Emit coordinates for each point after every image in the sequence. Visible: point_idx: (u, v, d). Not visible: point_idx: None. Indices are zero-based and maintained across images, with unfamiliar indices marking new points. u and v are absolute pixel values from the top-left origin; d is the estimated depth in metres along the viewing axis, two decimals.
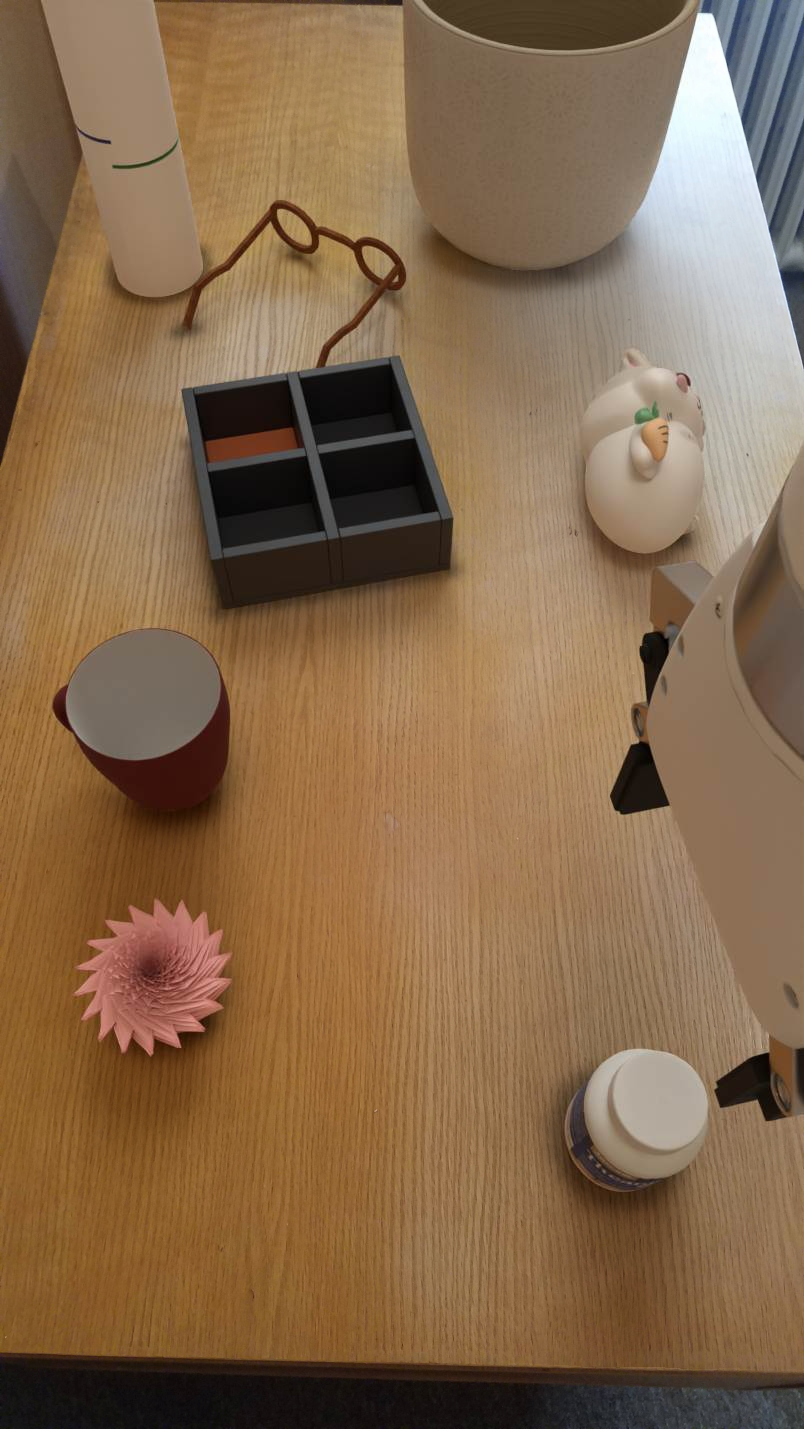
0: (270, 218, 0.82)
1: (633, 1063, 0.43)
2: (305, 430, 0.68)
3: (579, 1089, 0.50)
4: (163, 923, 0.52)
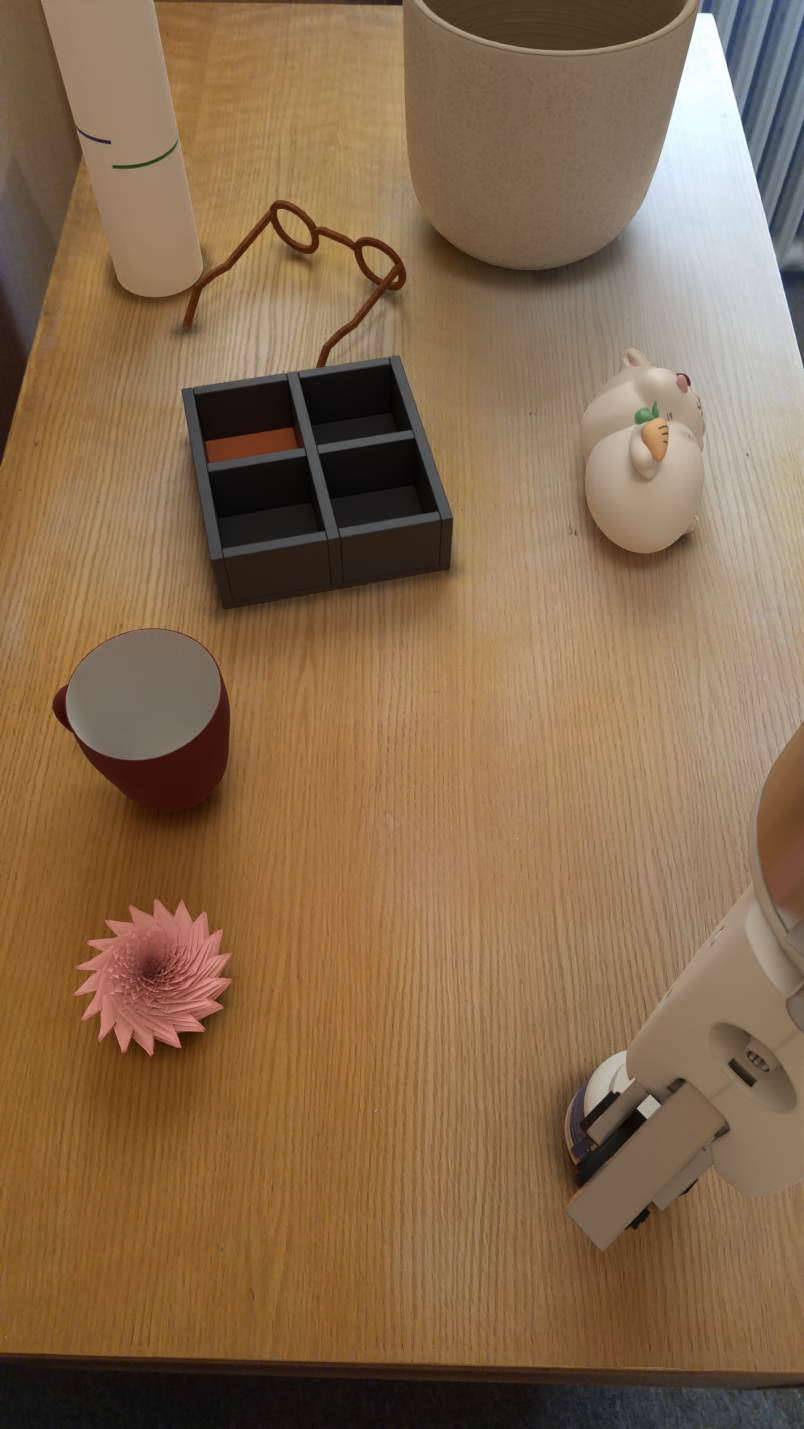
0: (270, 218, 0.82)
1: None
2: (305, 430, 0.68)
3: (579, 1089, 0.50)
4: (163, 923, 0.52)
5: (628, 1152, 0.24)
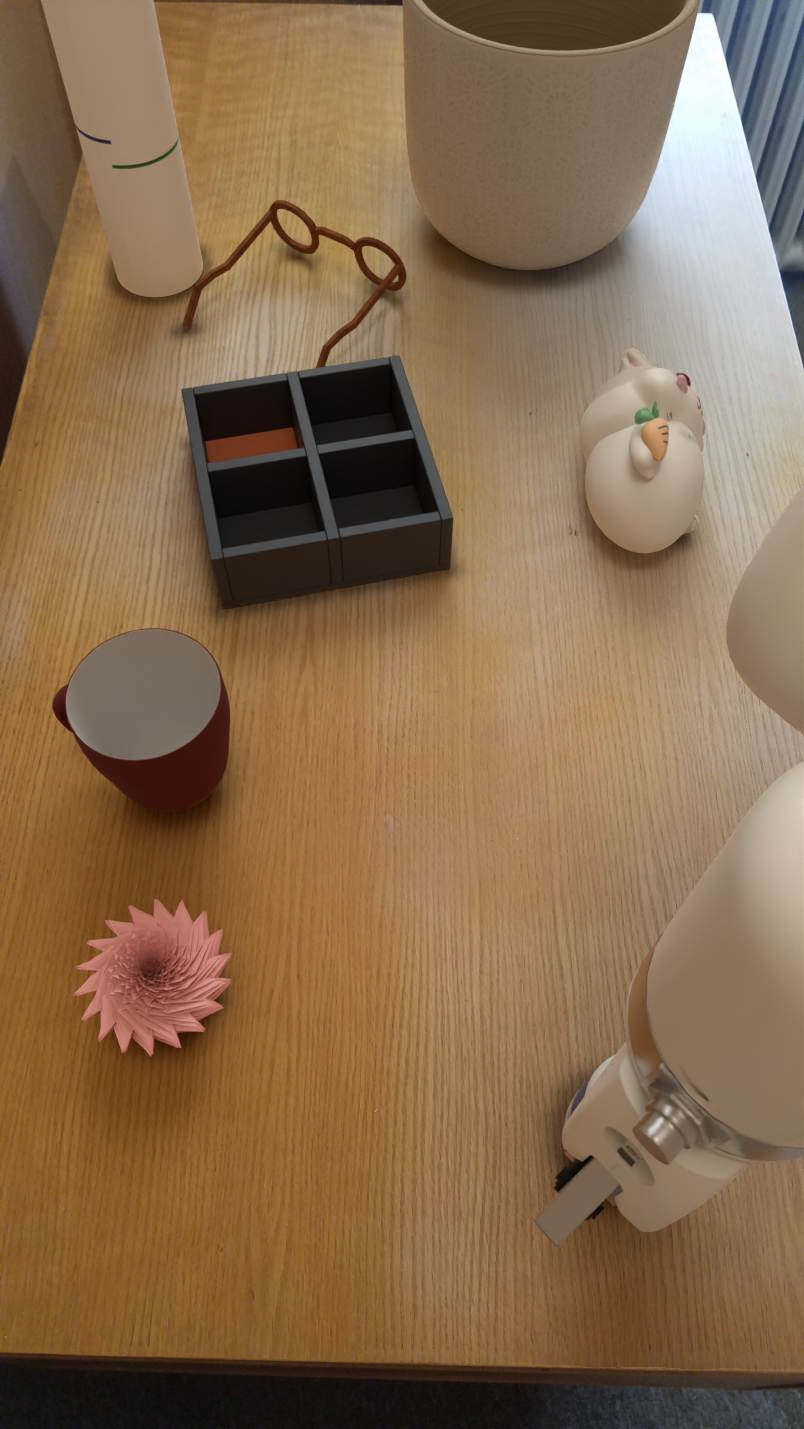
0: (270, 218, 0.82)
1: None
2: (305, 430, 0.68)
3: (579, 1089, 0.50)
4: (163, 923, 0.52)
5: (564, 1194, 0.37)
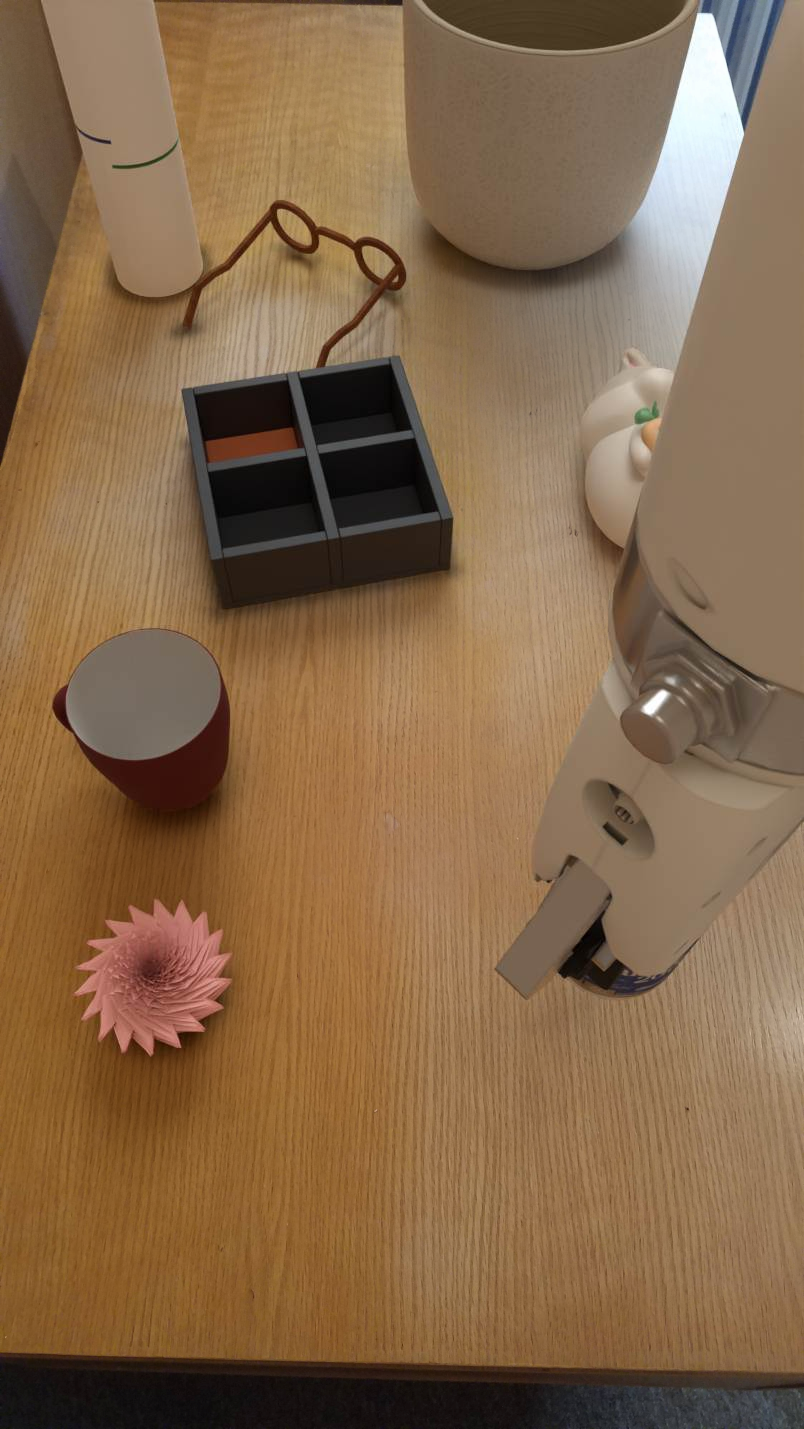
0: (270, 218, 0.82)
1: None
2: (305, 430, 0.68)
3: None
4: (163, 923, 0.52)
5: (534, 923, 0.27)
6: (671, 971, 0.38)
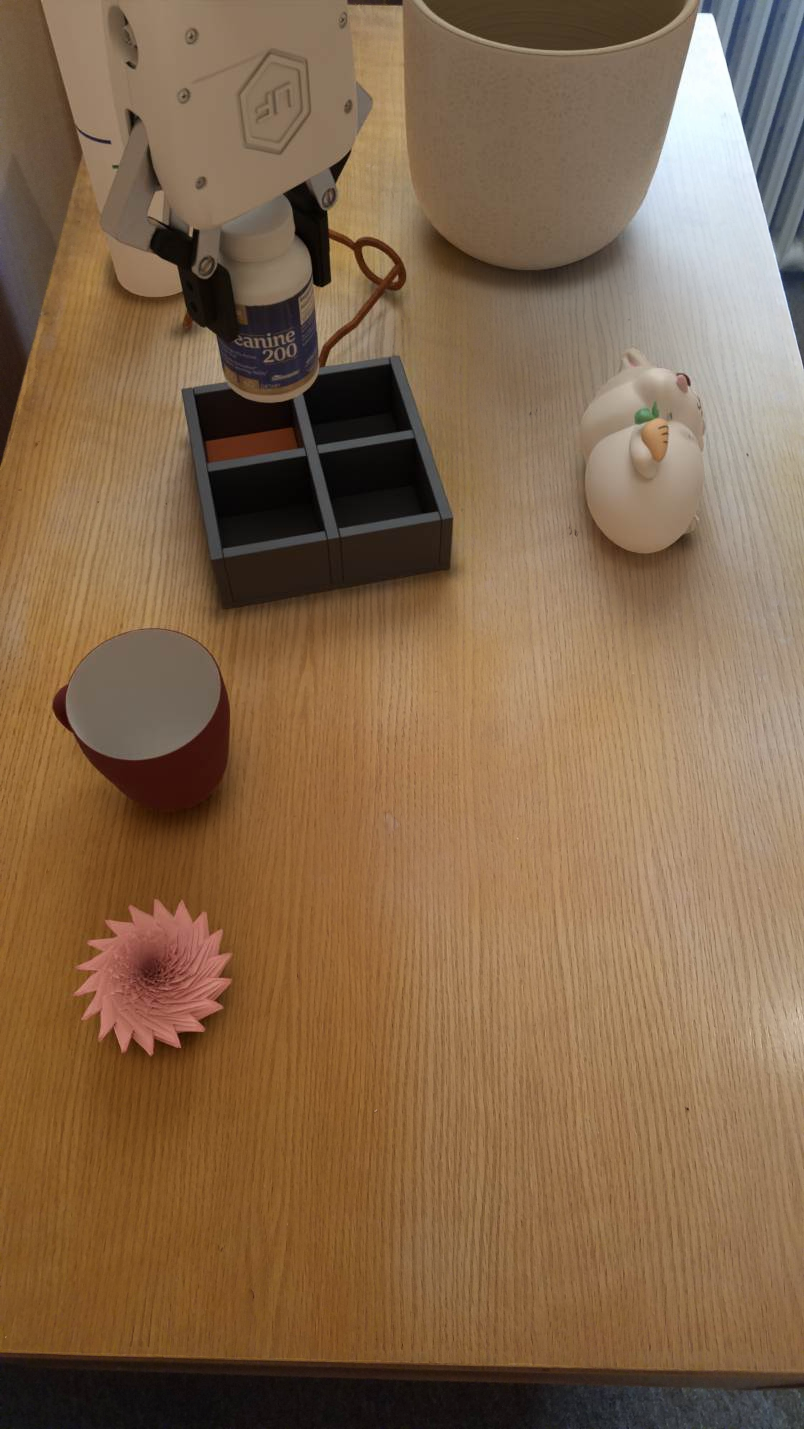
0: None
1: None
2: (305, 430, 0.68)
3: None
4: (163, 923, 0.52)
5: (116, 178, 0.43)
6: (296, 364, 0.54)
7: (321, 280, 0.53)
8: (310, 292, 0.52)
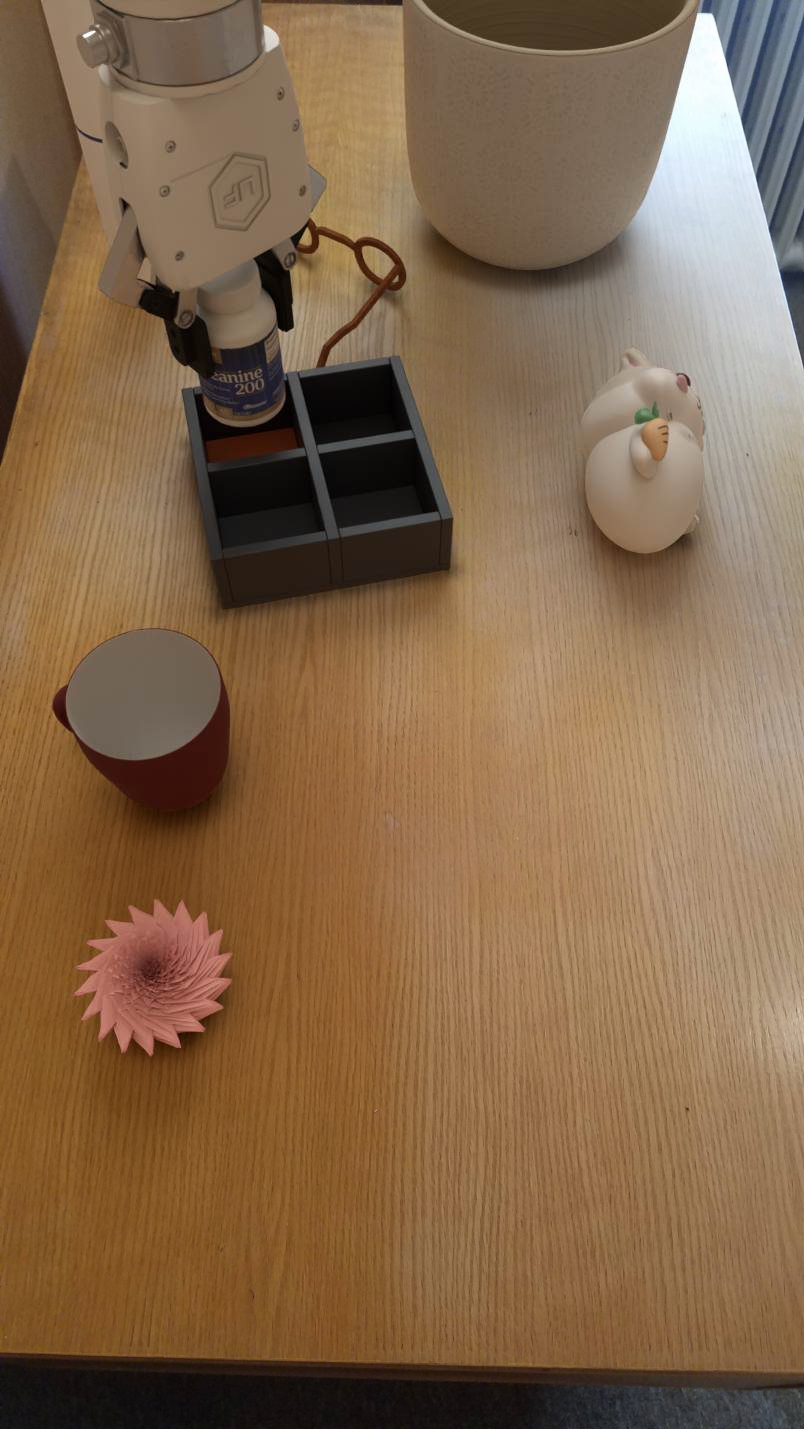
0: None
1: None
2: (305, 430, 0.68)
3: None
4: (163, 923, 0.52)
5: (111, 250, 0.53)
6: (264, 395, 0.64)
7: (285, 326, 0.63)
8: (275, 336, 0.62)
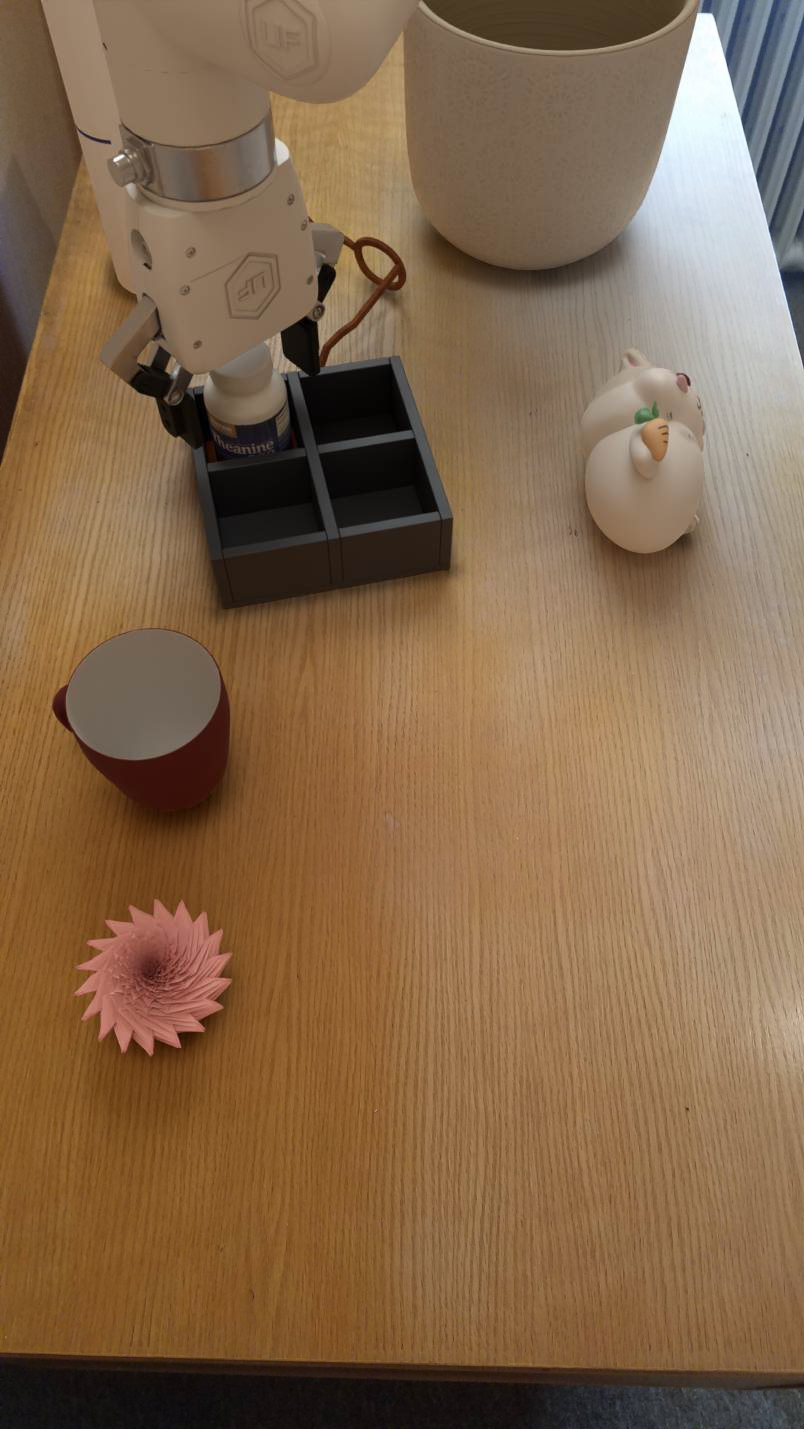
0: None
1: None
2: (305, 430, 0.68)
3: None
4: (163, 923, 0.52)
5: (121, 326, 0.57)
6: None
7: (312, 371, 0.67)
8: (285, 412, 0.67)
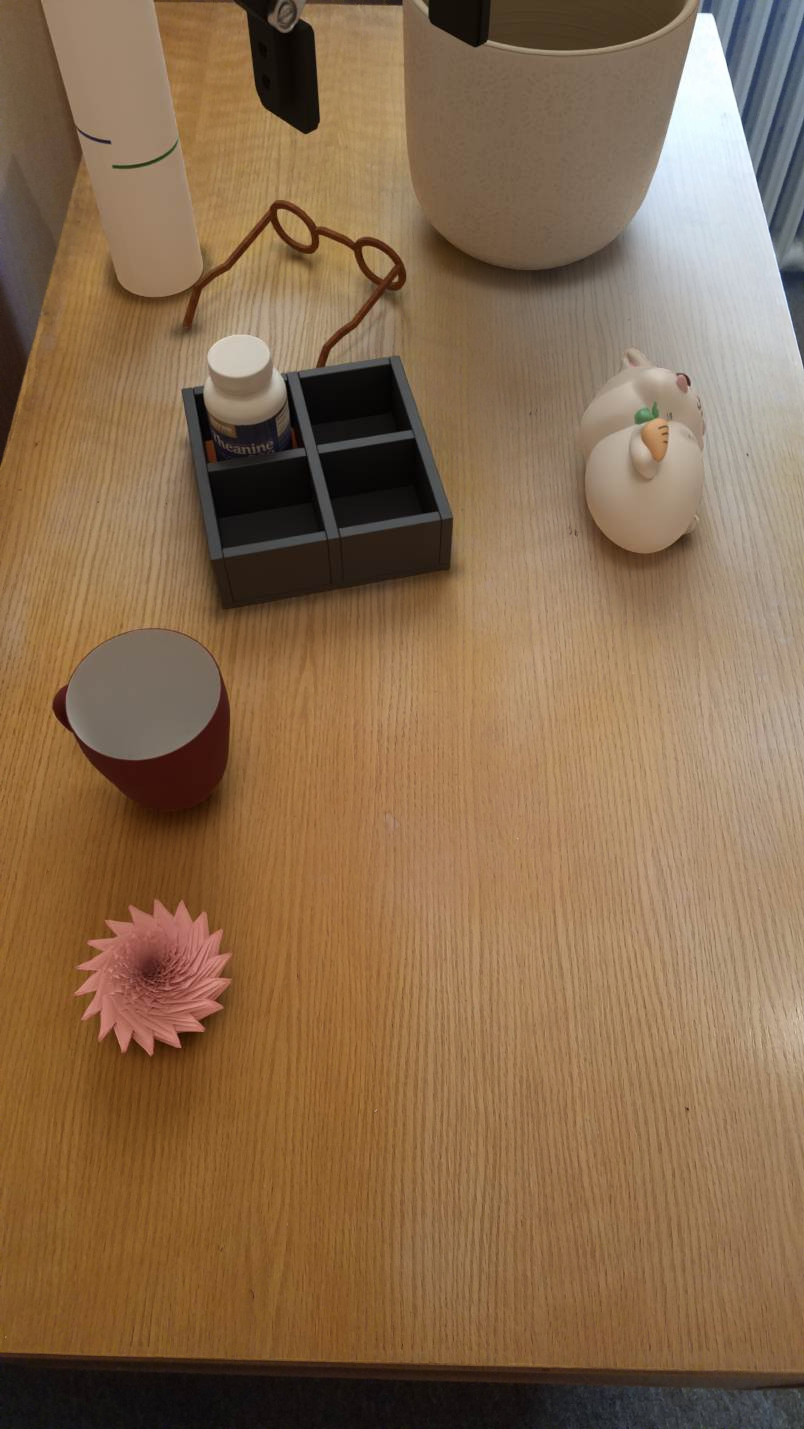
0: (270, 218, 0.82)
1: (225, 339, 0.64)
2: (305, 430, 0.68)
3: None
4: (163, 923, 0.52)
5: None
6: None
7: (477, 36, 0.44)
8: (285, 412, 0.67)
